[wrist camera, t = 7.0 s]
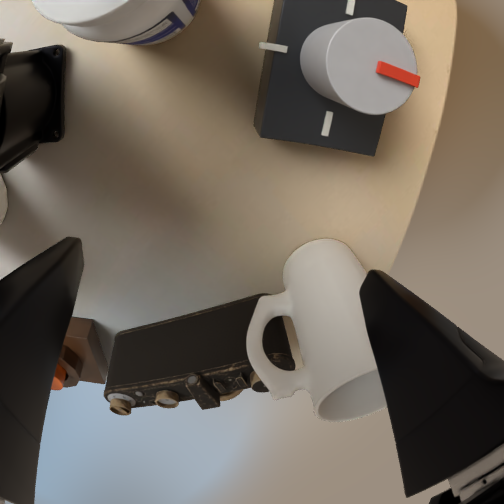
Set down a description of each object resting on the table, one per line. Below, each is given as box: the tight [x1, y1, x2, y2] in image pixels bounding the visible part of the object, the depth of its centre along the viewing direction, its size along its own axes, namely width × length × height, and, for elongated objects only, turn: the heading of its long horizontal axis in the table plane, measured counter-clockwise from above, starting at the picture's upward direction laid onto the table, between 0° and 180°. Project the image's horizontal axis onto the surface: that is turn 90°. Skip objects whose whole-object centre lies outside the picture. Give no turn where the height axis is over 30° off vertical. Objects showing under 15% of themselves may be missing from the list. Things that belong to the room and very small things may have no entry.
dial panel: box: [253, 0, 407, 156], centre depth 15 cm, size 10×9×3 cm
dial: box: [300, 18, 420, 115], centre depth 12 cm, size 4×4×4 cm
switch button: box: [51, 363, 66, 390], centre depth 24 cm, size 4×4×2 cm
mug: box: [246, 238, 387, 422], centre depth 20 cm, size 10×7×12 cm, turn 92°
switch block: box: [58, 317, 108, 387], centre depth 26 cm, size 10×8×4 cm
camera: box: [104, 293, 295, 415], centre depth 25 cm, size 16×7×8 cm, turn 107°
